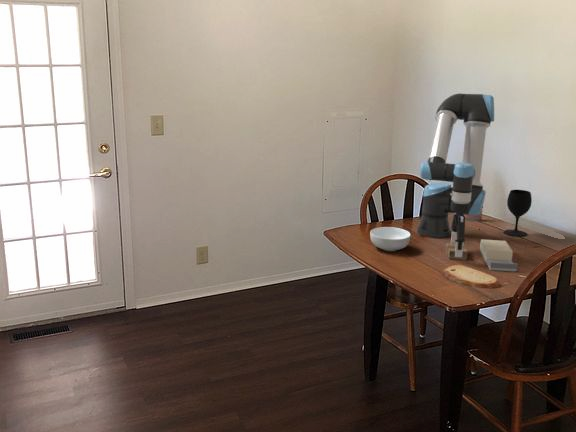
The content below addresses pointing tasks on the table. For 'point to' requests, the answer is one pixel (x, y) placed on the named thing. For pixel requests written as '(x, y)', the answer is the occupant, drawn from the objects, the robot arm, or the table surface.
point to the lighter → (474, 217)
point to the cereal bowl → (390, 238)
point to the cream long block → (497, 255)
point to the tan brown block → (451, 252)
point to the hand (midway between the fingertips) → (456, 251)
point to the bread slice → (470, 277)
